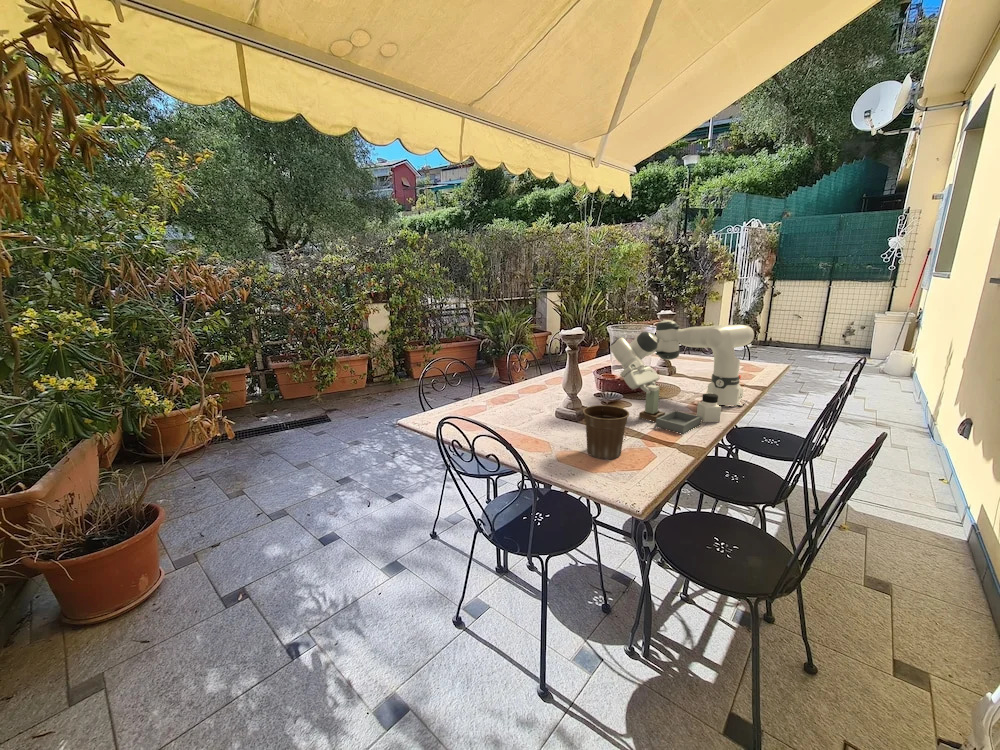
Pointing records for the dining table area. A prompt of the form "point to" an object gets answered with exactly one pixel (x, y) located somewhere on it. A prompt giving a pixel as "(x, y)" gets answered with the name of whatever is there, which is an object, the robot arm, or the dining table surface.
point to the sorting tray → (678, 421)
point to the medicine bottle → (709, 408)
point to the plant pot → (605, 430)
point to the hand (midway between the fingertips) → (653, 392)
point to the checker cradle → (650, 415)
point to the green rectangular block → (652, 399)
